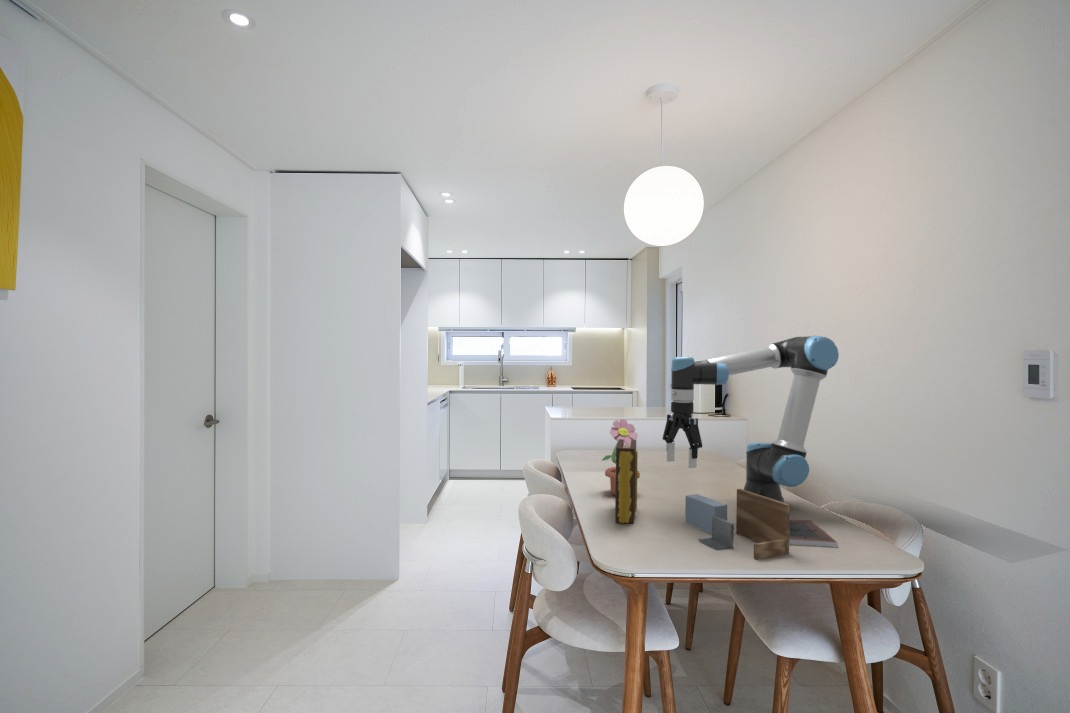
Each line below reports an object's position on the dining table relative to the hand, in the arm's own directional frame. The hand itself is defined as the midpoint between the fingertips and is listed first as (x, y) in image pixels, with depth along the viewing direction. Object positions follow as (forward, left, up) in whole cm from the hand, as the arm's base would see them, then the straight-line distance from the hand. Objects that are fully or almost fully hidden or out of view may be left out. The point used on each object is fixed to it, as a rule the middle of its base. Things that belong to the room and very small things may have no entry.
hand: (681, 464), depth 190 cm
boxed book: (0, +13, -18) cm, 22 cm away
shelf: (0, +31, -18) cm, 36 cm away
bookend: (+8, +27, -18) cm, 33 cm away
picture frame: (-23, +28, -19) cm, 41 cm away
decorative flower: (+4, -32, -18) cm, 37 cm away
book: (+17, -8, -18) cm, 26 cm away
